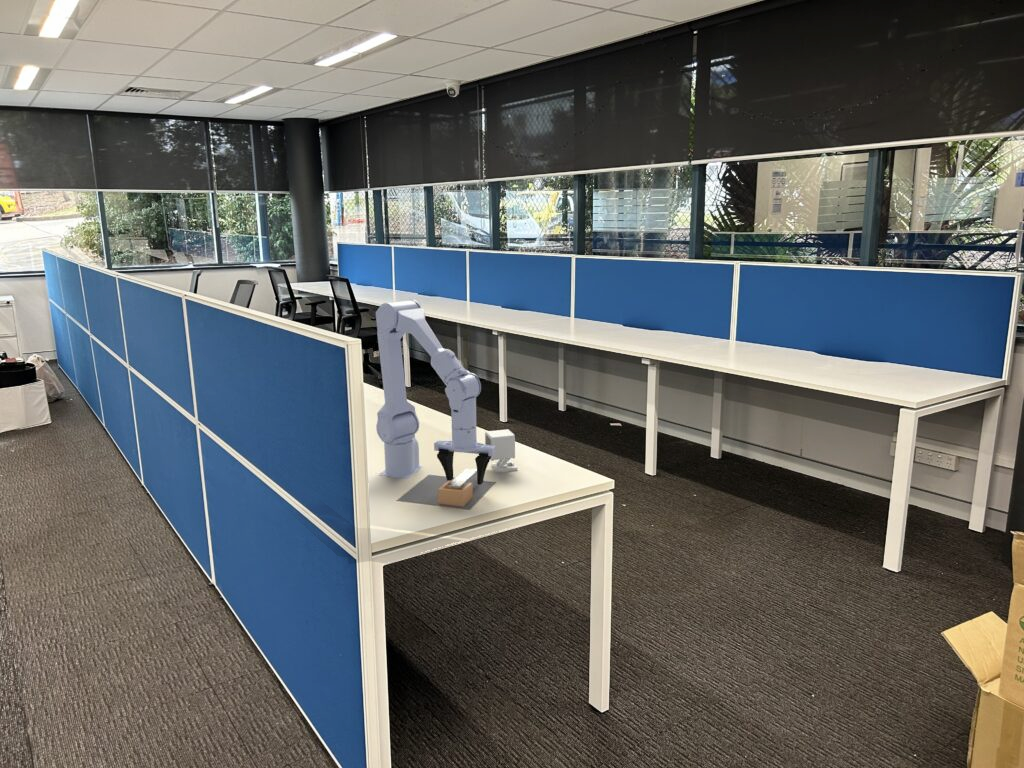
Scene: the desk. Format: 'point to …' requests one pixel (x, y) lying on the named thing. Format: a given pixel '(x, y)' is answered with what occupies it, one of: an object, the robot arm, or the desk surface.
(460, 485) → the aluminium rail
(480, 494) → the mat
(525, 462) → the desk surface
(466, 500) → the tan notched holder
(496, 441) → the security camera
